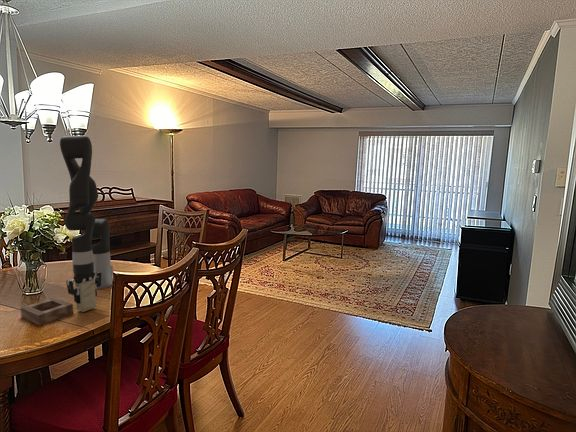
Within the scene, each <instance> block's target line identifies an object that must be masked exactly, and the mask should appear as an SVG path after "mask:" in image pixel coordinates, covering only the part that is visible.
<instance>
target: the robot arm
mask: <svg viewBox="0 0 576 432" xmlns="http://www.w3.org/2000/svg"><path fill="white" fill-rule="evenodd" d="M59 148H60V151H61V154H62V157H63V159H64V163H65V165H66V168H67V171H68V174H69V177H70V184H69V188H68V189H69V190H68V192H69V193H68V194H69V196H68V197H69V204H68V209H67V212H66V216H65V219H64V225H65V228H66V229H67V230H69V231H70V232H71V231H72V232H73V231H82V232H83V233H82V234H79V235H78V234H77V235H75V236H73V237H71V238H72V239H71V249H72V256H71V257H72V258H71V260H72V271H73V278H72V279H67V280H66V281H65V285H66V287H67V288H66V289H67V293H68V295H72V296H73V300H74V301H73V302H75V304H76V303H78V304H79V303H80V295H79V293H80V289H81V285H80V286H79V287H77V286H76V284H75V282H76V283H77V284H79V283H85V281H91V280H93V279H94V280H95V294H96V297H97V295H98V290H103V289H107V288H110V287H112V286H113V285H112V275H113V276H114V267H113V265H112V264H111V249H110V248H111V239H110V238H111V237H110V236H111V233H110V232H111V227H110V221H109V220H108V219H107V218H96V216H95V215H94V214H93V213H92V210H93V208H94V206H95V204H96V203H97V201H98V199H99V192H98V187H97V183H96V180H94V179H93V178H92V176H91V168H92V157H93V145H92V141H91V138H90V137H89V136H88V135H65V136H64V135H63V136H62V137H61V138H60V139H59ZM77 159H81V164H80V165H79V164H78V162H77ZM77 211H78V212H77ZM92 239H100V241H99V242H97V243H95V244H93V242H92Z"/></svg>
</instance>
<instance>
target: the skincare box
mask: <svg viewBox="0 0 576 432" xmlns="http://www.w3.org/2000/svg"><path fill="white" fill-rule="evenodd" d="M75 284H76V286H77V287H79V286H80V285H81V289H80V293H79V295H80V303H79V304H78V303H76V302H75V304H76V305H75V306H76V311H79V312H86V311H89V310H92V309H96V308H97V296H96V294H95V280H94V279H93V280H91V281H85V283H79V284H77V283H76V282H74V285H75Z"/></svg>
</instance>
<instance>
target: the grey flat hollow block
mask: <svg viewBox="0 0 576 432" xmlns="http://www.w3.org/2000/svg"><path fill="white" fill-rule="evenodd" d="M73 314H74V304H73V303H71V302H69V301H65V300H62V299H60V298H58V297H52V298H49V299H48V298H47V299H45V300H42V301H38V302H34V303H32V304H29V305H25V306H22V307H20V315H21V318H22V319H24V320H26V321H29V322H31V323H33V324H35V325H37V326H41V325H42V326H43V325H44V324H47V323H50V322H53V321H56V320H59V319H61V318H64V317H67V316H70V315H73Z"/></svg>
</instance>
